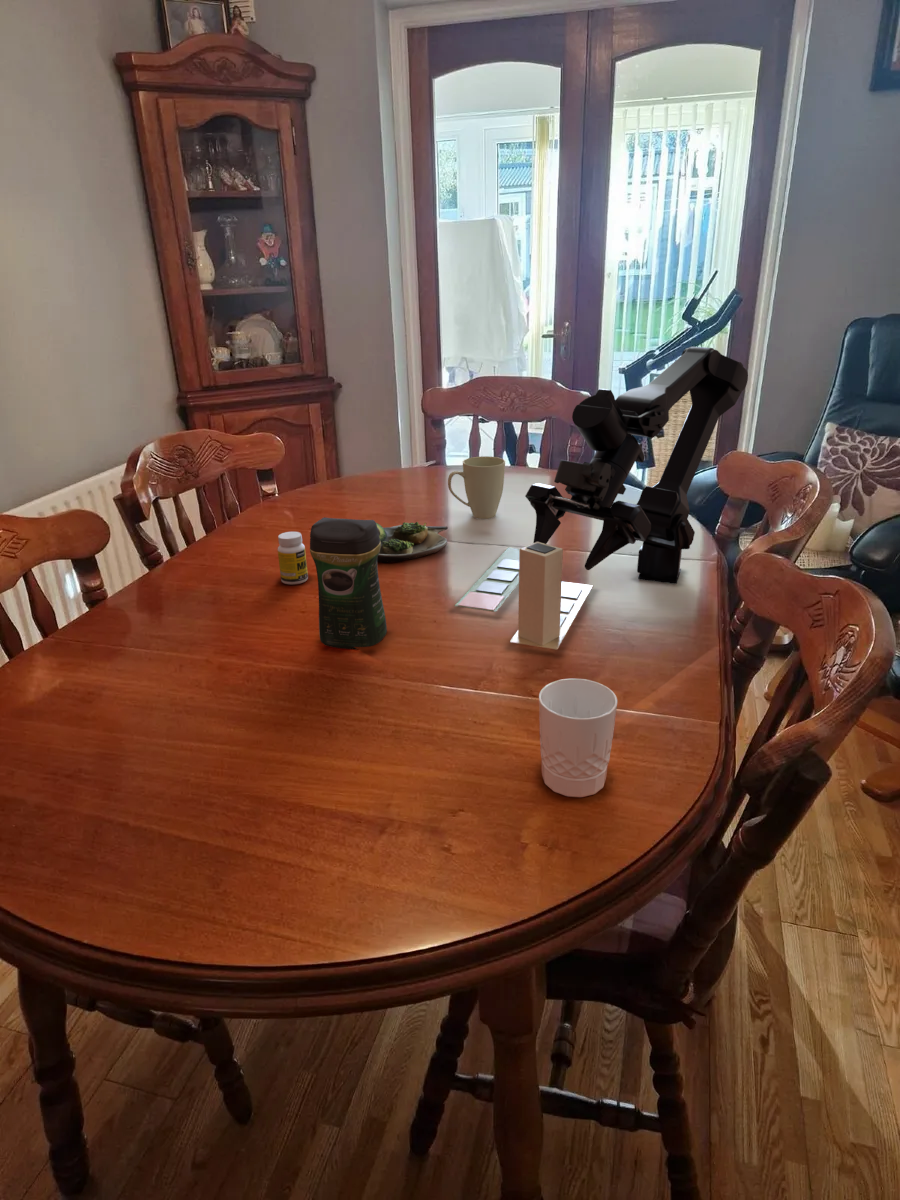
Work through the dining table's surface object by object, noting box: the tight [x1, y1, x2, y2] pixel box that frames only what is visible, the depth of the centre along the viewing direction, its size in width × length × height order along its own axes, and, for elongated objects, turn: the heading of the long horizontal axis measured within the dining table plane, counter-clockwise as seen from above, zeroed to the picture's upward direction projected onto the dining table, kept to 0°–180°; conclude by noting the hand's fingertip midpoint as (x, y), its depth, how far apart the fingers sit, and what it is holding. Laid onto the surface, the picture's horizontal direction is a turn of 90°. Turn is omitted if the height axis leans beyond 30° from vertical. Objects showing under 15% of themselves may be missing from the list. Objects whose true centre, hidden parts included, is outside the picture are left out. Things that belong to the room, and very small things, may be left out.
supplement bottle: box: [277, 531, 309, 586], centre depth 131 cm, size 5×5×8 cm
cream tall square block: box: [517, 542, 564, 646], centre depth 106 cm, size 4×4×14 cm
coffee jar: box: [309, 516, 388, 651], centre depth 108 cm, size 10×8×19 cm
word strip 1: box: [454, 546, 520, 613], centre depth 130 cm, size 28×7×1 cm, turn 158°
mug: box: [447, 455, 506, 520], centre depth 161 cm, size 11×10×12 cm
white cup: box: [538, 678, 619, 798], centre depth 79 cm, size 8×8×10 cm
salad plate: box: [376, 521, 449, 564], centre depth 147 cm, size 19×18×5 cm
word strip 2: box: [509, 581, 594, 651], centre depth 117 cm, size 24×7×1 cm, turn 158°
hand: (559, 560), depth 107 cm, fingers open, 9 cm apart
